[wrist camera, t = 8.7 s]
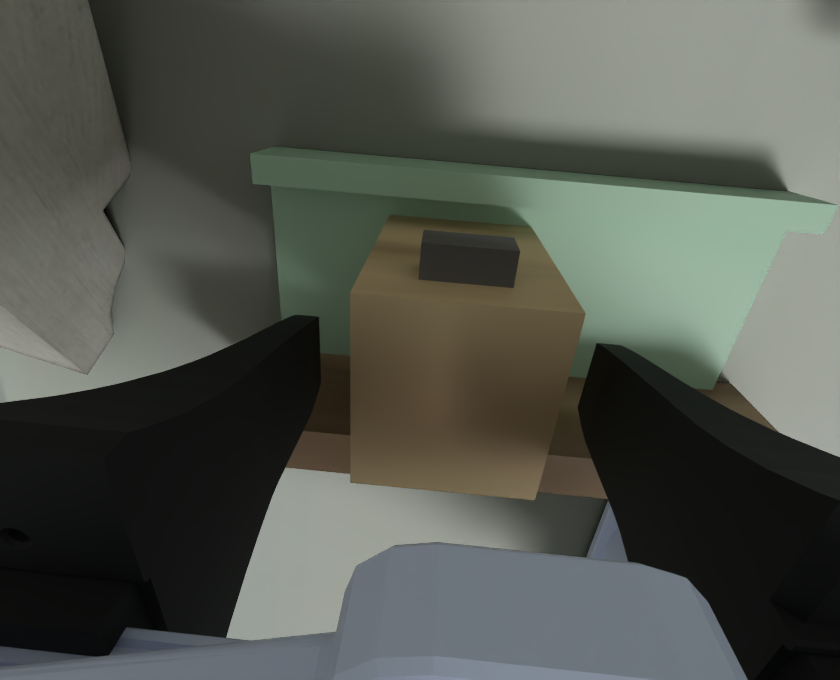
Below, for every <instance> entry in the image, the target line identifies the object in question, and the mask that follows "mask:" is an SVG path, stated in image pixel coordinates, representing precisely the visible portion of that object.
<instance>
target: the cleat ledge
mask: <svg viewBox="0 0 840 680" xmlns="http://www.w3.org/2000/svg"><path fill="white" fill-rule="evenodd" d="M250 162H251V172H252V183H253V184H259V185H270V186H271V196H272V209H273V221H274V234H275V247H276V259H277V272H278V284H279V297H280V310H281V321H282V320H284V319H286V318H288V317H290V316H293V315H307V316H317V317H319V329H320V353H325V354H336V355H346V356H350V292H351V290H352V288H353V286H354V284H355V282H356V280H357V278H358V276H359V274H360V272H361V270H362V268H363V266H364V264H365V262H366V260H367V258H368V256H369V254H370V252H371V251H372V249H373V247H374V245H375V243H376V241H377V239H378V237H379V235H380V233H381V231H382V229H383V227H384V225H385V223H386V221H387V219H388V217H389V215H400V216H412V217H423V218H435V219H446V220H458V221H470V222H481V223H493V224H504V225H516V226H527V227H532V228H533V230H534V232H535V233H536V235H537V236H538V238H539V240H540V241H541V243H542V244H543V246H544V248H545V249H546V251H547V252H548V254H549V256H550V257H551V259H552V260H553V262H554V263H555V265H556V267H557V268H558V270H559V271H560V273H561V275H562V276H563V278H564V279H565V281H566V283H567V284H568V286H569V287H570V289H571V291H572V292H573V294H574V295H575V297H576V299H577V300H578V302H579V303H580V305H581V306H582V308H583V310H584V311H585V313H586V316H585V319H584V323H583V327H582V330H581V334H580V338H579V341H578V345H577V349H576V352H575V356H574V360H573V363H572V367H571V371H570V374H569V377H579V378H586V377H587V374H588V370H589V367H590V363H591V360H592V357H593V353H594V350H595V347H596V343H603V344H614V345H621V346H624V347H626V348H628V349H630V350H632V351H634V352H635V353H637V354H639V355H640V356H642V357H644V358H645V359H647V360H649V361H650V362H652V363H654V364H655V365H657V366H658V367H660V368H662V369H663V370H665V371H666V372H668V373H669V374H671V375H673V376H674V377H676V378H677V379H679V380H681V381H682V382H684V383H686V384H687V385H689V386H691V387H692V388H696V389H707V390H713V388H714V386H715V384H716V382H717V380H718V377H719V375H720V373H721V371H722V369H723V367H724V364H725V362H726V360H727V358H728V356H729V354H730V352H731V349H732V347H733V345H734V343H735V341H736V339H737V336H738V334H739V332H740V330H741V328H742V326H743V324H744V321H745V319H746V317H747V315H748V313H749V311H750V308H751V306H752V304H753V302H754V300H755V298H756V296H757V293H758V291H759V289H760V287H761V285H762V283H763V280H764V278H765V276H766V274H767V272H768V270H769V268H770V265H771V263H772V261H773V259H774V257H775V255H776V252H777V250H778V248H779V246H780V244H781V242H782V240H783V237H784V235H785V233H786V231H788V232H800V233H811V234H822V235H824V234H825V232H826V230H827V228H828V226H829V224H830V222H831V220H832V218H833V216H834V214H835V212H836V210H837V208H838V206H839V205H836V204H832V203H829V202H825V201H822V200H818V199H814V198H811V197H807V196H804V195H800V194H797V193H793V192H789V191H777V190H766V189H755V188H743V187H732V186H720V185H709V184H697V183H686V182H675V181H663V180H652V179H640V178H629V177H617V176H606V175H595V174H583V173H572V172H560V171H549V170H537V169H526V168H515V167H503V166H492V165H480V164H469V163H457V162H446V161H435V160H423V159H412V158H400V157H389V156H377V155H366V154H355V153H343V152H332V151H320V150H309V149H297V148H286V147H275V146H274V147H271V148H267V149H264V150H260V151H257V152H253V153H250Z"/></svg>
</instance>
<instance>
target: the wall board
mask: <svg viewBox="0 0 840 680" xmlns="http://www.w3.org/2000/svg"><path fill="white" fill-rule="evenodd" d="M320 358H321V385H320V389H319V392H318V395H317V399H316V402H315V405H314V408H313V411H312V414H311V416H310V418H309V420H308V422H307V424H306V426H305V428H304V430H303V432H302V434H301V437H300V439H299V441H298V443H297V445H296V447H295V449H294V451H293V453H292V455H291V457H290V459H289V461H288V463H287V465H286V468H297V469H307V470H317V471H327V472H337V473H348V474H350V356H346V355H336V354H325V353H320ZM585 380H586V378H579V377H569V378H568V382H567V385H566V389H565V393H564V396H563V400H562V404H561V407H560V411H559V415H558V418H557V422H556V426H555V429H554V433H553V437H552V440H551V444H550V448H549V451H548V455H547V459H546V462H545V466H544V470H543V473H542V477H541V481H540V484H539V488H538V492H541V493H551V494H561V495H571V496H582V497H592V498H602V499H608V498H607V496H606V493H605V491H604V488H603V486H602V483H601V481H600V478H599V476H598V473H597V471H596V468H595V466H594V463H593V461H592V458H591V455H590V453H589V450H588V448H587V445H586V442H585V439H584V435H583V431H582V427H581V423H580V418H579V413H578V408H577V407H578V404H579V401H580V397H581V394H582V390H583V387H584V384H585ZM694 389H696V388H694ZM696 390H697V391H699V392H701V393H702V394H704V395H706V396H708V397H709V398H711V399H713V400H715V401H717V402H718V403H720V404H722V405H724V406H725V407H727V408H729V409H731V410H733V411H735V412H737V413H739V414H741V415H743V416H745V417H747V418H749V419H751V420H753V421H755V422H757V423H759V424H761V425H764V426H766V427H768V428H770V429H772V430H774V431H776V432H778V431H777V430H776V429H775V428H774V427H773V426H772V425H771V424H770V423H769V422H768V421H767V420H766V419H765V418H764V417H763V416H762V415H761V414H760V413H759V412H758V411H757V410H756V409H755V408H754V407H753V406H752V405H751V404H750V402H749V401H748V400H747V399H746V398H745V397H744V396H743V395H742V394H741V393H740V392H739V391H738V390H737V389H736V388H735V387H734V386H733V385H732V384H730V383H720V382H716V384H715V386H714V388H713V390H707V389H696Z"/></svg>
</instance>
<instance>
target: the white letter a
mask: <svg viewBox="0 0 840 680" xmlns="http://www.w3.org/2000/svg"><path fill="white" fill-rule="evenodd" d="M129 175H130V156H129V153H128V149H127V145H126V141H125V137H124V134H123V130H122V126H121V122H120V119H119V115H118V111H117V107H116V104H115V100H114V96H113V92H112V89H111V85H110V81H109V77H108V74H107V70H106V66H105V62H104V59H103V55H102V51H101V47H100V44H99V40H98V36H97V32H96V29H95V25H94V21H93V17H92V13H91V10H90V6H89V2H88V0H0V347H2V348H5V349H9V350H12V351H15V352H18V353H21V354H24V355H27V356H30V357H34V358H37V359H40V360H43V361H46V362H49V363H52V364H56V365H59V366H62V367H65V368H68V369H71V370H74V371H77V372H81V373H84V374H87V375H88V373H89V372H90V370H91V369H92V367H93V365H94V364H95V362H96V361H97V359H98V358H99V356H100V355H101V353H102V352H103V350H104V349H105V347H106V346H107V344H108V342H109V341H110V339H111V338H112V336H113V335H114V330H113V325H112V319H111V310H112V304H113V297H114V291H115V287H116V284H117V281H118V279H119V276H120V273H121V270H122V268H123V265H124V262H125V249H124V247H123V245H122V243H121V241H120V240H119V238H118V236H117V234H116V233H115V231H114V229H113V227H112V226H111V224H110V222H109V220H108V219H107V217H106V215H105V213H104V212H103V210H104V209H105V207H106V206H107V205H108V204H109V202H110V201H111V200H112V198H113V197H114V196H115V195H116V193H117V192H118V191H119V189H120V188H121V187H122V186H123V184H124V183H125V182H126V180H127V179H128V178H129Z"/></svg>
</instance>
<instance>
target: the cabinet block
mask: <svg viewBox="0 0 840 680" xmlns="http://www.w3.org/2000/svg"><path fill="white" fill-rule="evenodd" d="M585 316H586V313H585V311H584V310H583V308H582V306H581V305H580V303H579V302H578V300H577V299H576V297H575V295H574V294H573V292H572V291H571V289H570V287H569V286H568V284H567V283H566V281H565V279H564V278H563V276H562V275H561V273H560V271H559V270H558V268H557V267H556V265H555V263H554V262H553V260H552V259H551V257H550V256H549V254H548V252H547V251H546V249H545V248H544V246H543V244H542V243H541V241H540V240H539V238H538V236H537V235H536V233H535V232H534V230H533V228H532V227H527V226H516V225H504V224H493V223H481V222H470V221H458V220H446V219H435V218H423V217H412V216H400V215H389V217H388V219H387V221H386V223H385V225H384V227H383V229H382V231H381V233H380V235H379V237H378V239H377V241H376V243H375V245H374V247H373V249H372V251H371V252H370V254H369V256H368V258H367V260H366V262H365V264H364V266H363V268H362V270H361V272H360V274H359V276H358V278H357V280H356V282H355V284H354V286H353V288H352V290H351V292H350V483H360V484H371V485H381V486H391V487H402V488H412V489H422V490H433V491H443V492H453V493H464V494H474V495H484V496H495V497H505V498H516V499H526V500H535V499H536V495H537V492H538V488H539V484H540V481H541V477H542V473H543V470H544V466H545V462H546V459H547V455H548V451H549V448H550V444H551V440H552V437H553V433H554V429H555V426H556V422H557V418H558V415H559V411H560V407H561V404H562V400H563V396H564V393H565V389H566V385H567V382H568V378H569V374H570V371H571V367H572V363H573V360H574V356H575V352H576V349H577V345H578V341H579V338H580V334H581V330H582V327H583V323H584V319H585Z"/></svg>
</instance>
